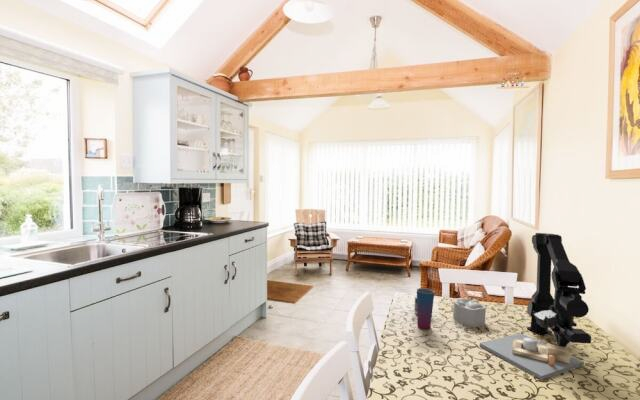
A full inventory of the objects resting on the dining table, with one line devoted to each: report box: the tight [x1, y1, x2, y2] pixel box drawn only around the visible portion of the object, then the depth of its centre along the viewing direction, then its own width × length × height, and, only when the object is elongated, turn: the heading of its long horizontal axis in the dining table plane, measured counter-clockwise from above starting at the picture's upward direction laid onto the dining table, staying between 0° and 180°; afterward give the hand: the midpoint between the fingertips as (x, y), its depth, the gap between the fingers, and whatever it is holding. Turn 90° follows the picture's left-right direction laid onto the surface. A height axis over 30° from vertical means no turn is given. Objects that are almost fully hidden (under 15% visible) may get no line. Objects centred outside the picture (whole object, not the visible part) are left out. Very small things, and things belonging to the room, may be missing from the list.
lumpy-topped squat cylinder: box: [452, 297, 487, 328], centre depth 144 cm, size 10×13×9 cm
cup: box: [416, 287, 435, 331], centre depth 135 cm, size 7×7×15 cm
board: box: [479, 332, 585, 381], centre depth 115 cm, size 22×22×5 cm
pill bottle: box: [413, 294, 417, 315], centre depth 150 cm, size 6×6×10 cm
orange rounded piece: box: [548, 355, 555, 367], centre depth 107 cm, size 2×2×3 cm
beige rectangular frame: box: [512, 338, 571, 364], centre depth 113 cm, size 16×10×4 cm, turn 58°
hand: (560, 349), depth 113 cm, fingers closed
